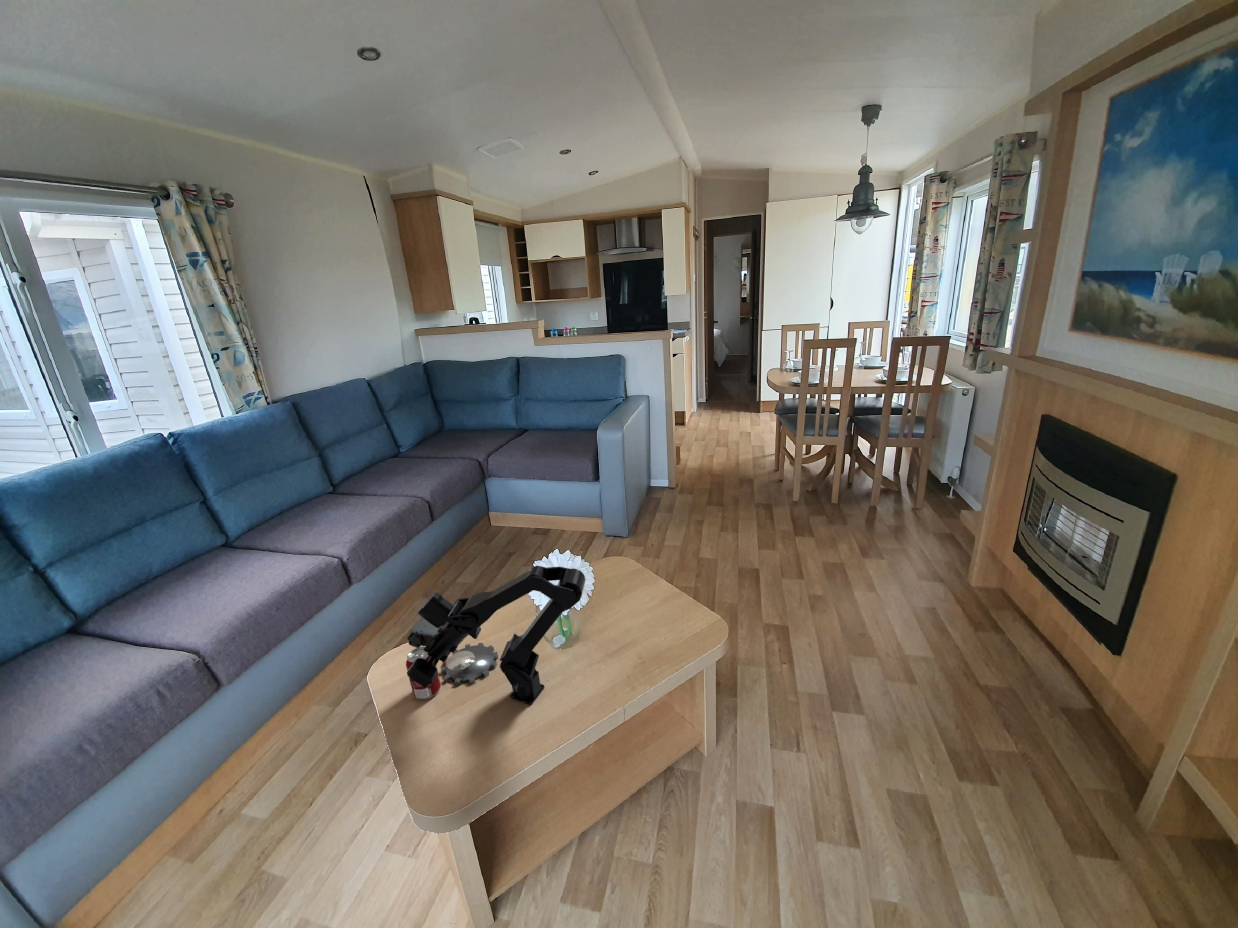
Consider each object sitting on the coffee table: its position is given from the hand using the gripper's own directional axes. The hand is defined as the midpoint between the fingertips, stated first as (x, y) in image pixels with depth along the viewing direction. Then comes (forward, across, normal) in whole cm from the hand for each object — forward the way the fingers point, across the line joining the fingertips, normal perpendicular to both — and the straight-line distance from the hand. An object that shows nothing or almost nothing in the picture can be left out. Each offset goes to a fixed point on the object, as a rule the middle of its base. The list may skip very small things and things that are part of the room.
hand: (417, 670), depth 126 cm
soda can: (+4, 0, +6) cm, 7 cm away
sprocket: (-2, -10, +11) cm, 15 cm away
